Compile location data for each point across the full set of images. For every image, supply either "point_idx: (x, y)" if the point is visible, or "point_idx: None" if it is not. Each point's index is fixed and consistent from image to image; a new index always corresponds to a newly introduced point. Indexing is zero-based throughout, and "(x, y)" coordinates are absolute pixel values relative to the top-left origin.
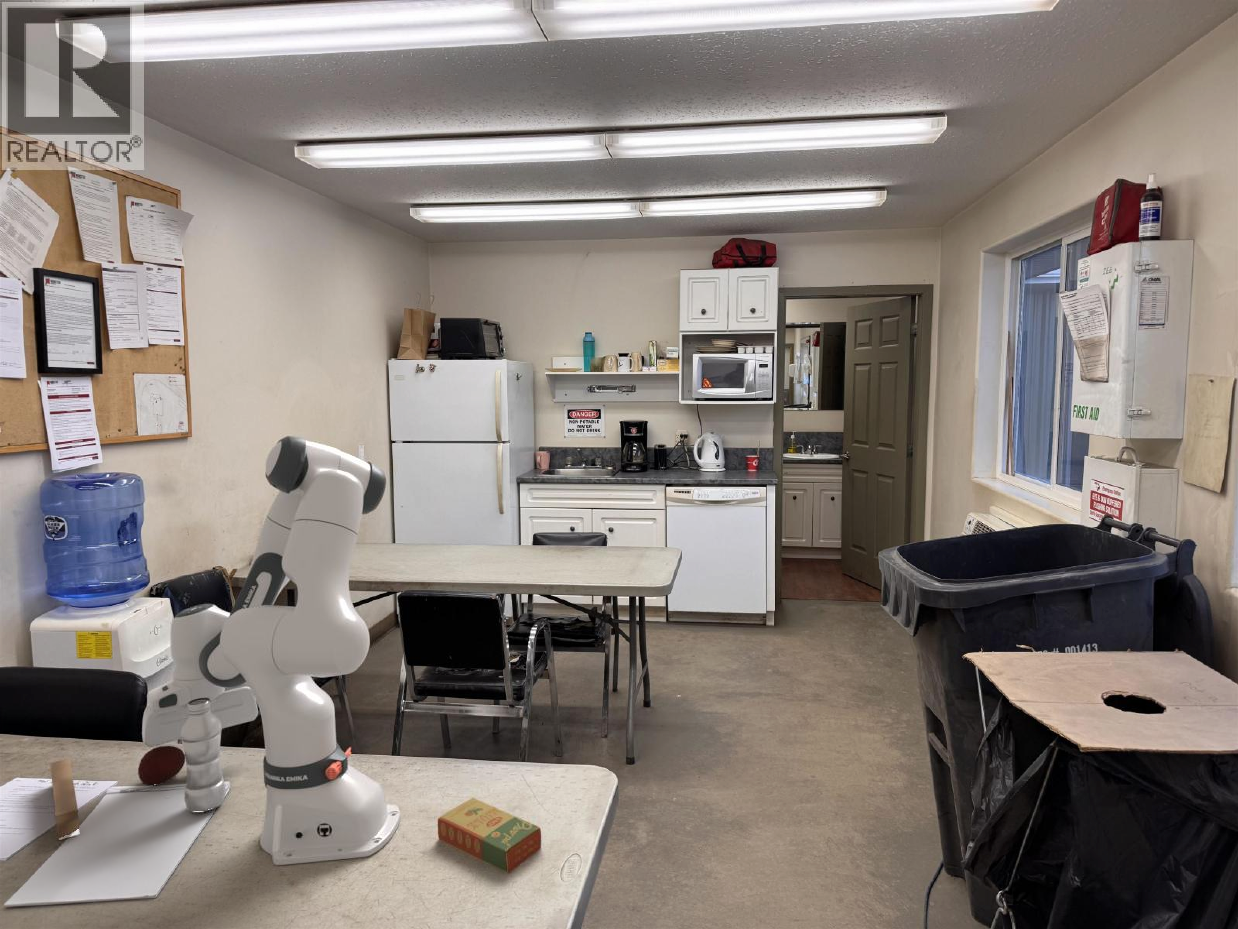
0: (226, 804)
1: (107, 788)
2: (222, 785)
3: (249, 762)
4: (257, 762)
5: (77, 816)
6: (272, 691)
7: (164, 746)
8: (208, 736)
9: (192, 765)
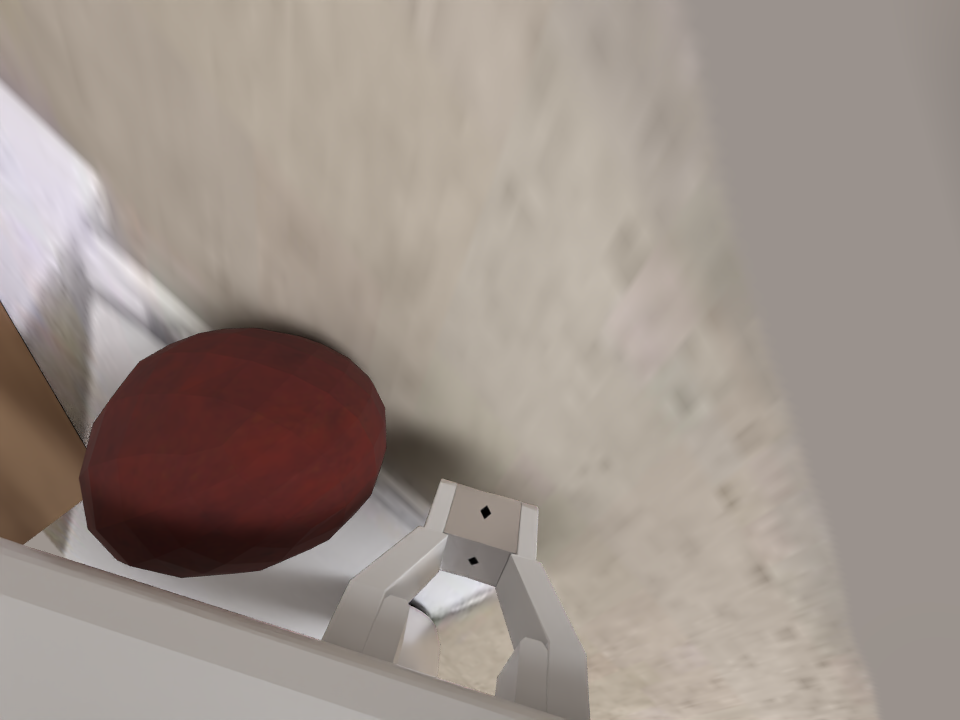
0: (443, 631)
1: (74, 235)
2: None
3: (656, 535)
4: (674, 558)
5: (34, 532)
6: None
7: (177, 553)
8: None
9: None
